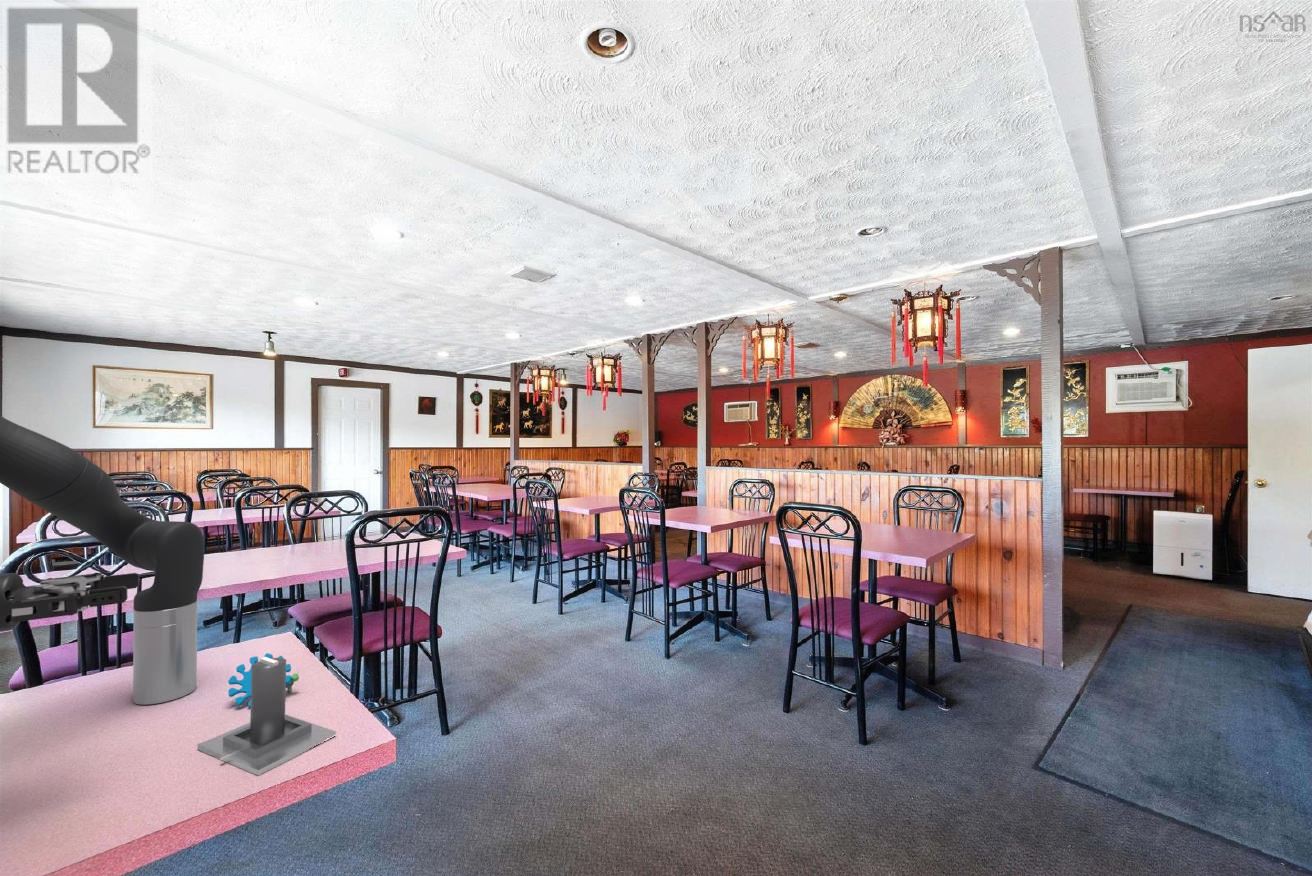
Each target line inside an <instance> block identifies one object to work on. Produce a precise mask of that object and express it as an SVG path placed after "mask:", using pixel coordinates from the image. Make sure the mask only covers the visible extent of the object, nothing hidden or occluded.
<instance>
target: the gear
mask: <svg viewBox="0 0 1312 876" xmlns="http://www.w3.org/2000/svg"><path fill="white" fill-rule="evenodd" d="M263 657H267V658H270V659H271V658H274V657H273V654H272V653H268V652H266V653H265V654H264V655H263ZM277 658H283V659H285V658H284V656H282V655H279V656H277ZM256 662H259V657H258V656H257V655H256V656H251V657H249V663H250V665H251V666H250V669H249V670H248V671H245V670H246V666H245V664H244V663H241V664H239V665H238V666H236V667H235V669H236V672H237V673H238V674H242V677H243V678H242V679H240V680H238V679H237V678H238V677H237V676H236V675H232V676H230V677H229V679H228V680H227V682H228V684H229V685H238V686H241V688H239V689H237V688H235V687H231V688H229V689H228V690H227V691H228V693H227V694H228V697H229V698H232V697H234V696H236V695H238V694H245V695H244V696H238V697H237V696H236V698H235V699H234V701H235V704H236V705H237V706H239V707H240V706H242V705H243V704H244V703H245V701H246V700H248V699H249V698H250V699H251V671H252V665H253V664H255V663H256ZM291 670H292V666H291V663H286V673H290V672H291ZM299 679H300V676H299V673H296V672H295V673H293V674H292V675H287V674H286V690H287V689H288V690H290V691H292V690H291V689H293V686H294V684H295V683H296V682H298V681H299ZM288 690H287V691H288ZM247 706H248V707H249V708H251V700H249V701H248V702H247Z"/></svg>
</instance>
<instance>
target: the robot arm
mask: <svg viewBox="0 0 1312 876" xmlns="http://www.w3.org/2000/svg"><path fill="white" fill-rule="evenodd" d="M0 484H2V485H3V487H6V488H8V489H9V490H11V491H13V492H14V493H15V494H17V495H19V496H20V497H22V498H23V499H25V500H26V501H28V502H29V503H32V504H33V505H35V506H36V507H39V508H40V509H43V510H44V511H46V512H47V513H49V514H52V515H53V516H56V517H57V518H58V519H60V520H62V521H64V522H66V523H67V524H69V525H71V526H72V527H75V528H76V529H78V530H80V531H82V532H84V533H85V534H88V535H90V536H91V537H93V538H94V539H95V540H97V541H98V542H99V543H101V544H102V545H104V546H105V547H106V548H108V549H109V550H110V551H111V552H112V553H114V554H115V555H116V556H118V557H119V558H120V559H121V560H123V561H124V562H126V563H127V564H129V565H131V566H133V567H135V568H138V569H141V570H154V579H153V583H152V585H151V586H150V587H149V588H145V589H143V590H141V591H138V592H136V594H135V595H134V596H133V637H132V638H133V640H132V641H133V642H132V643H133V645H132V646H133V647H132V648H133V651H132V653H133V659H132V664H133V665H132V667H133V669H132V672H133V673H132V676H133V677H132V702H133V703H134V704H136V705H140V706H141V705H146V706H147V705H154V704H155V705H156V704H160V703H161V704H162V703H165V702H169V701H174V700H176V699H180V698H182V697H186V696H187V695H189V694H191V693H193V692H194V691H195V690H196V689H197V687H198V685H197V681H198V679H197V678H198V676H197V675H198V672H197V671H198V593H199V590H200V588H201V586H202V582H203V577H204V575H203V574H204V562H205V538H204V533H203V532H202V530H201V528H200V527H199V526H198V525H197V524H195V523H193V522H189V521H176V520H175V521H169V520H155V519H153V518H149V516H147V515H146V516H145V515H144V514H142V513H141V512H139V511H138V510H136V509H134V508H132V507H131V506H129V505H128V504H126V503H125V501H123V499H122V497H121V496H120V493H119V490H118V488H117V485H116V483H115V482H114V480H113V478H112V477H111V476H110V475H109V474H108V473H107V472H106V471H105V470H103V468H101V467H99V466H98V465H97V464H95V463H94V462H92V461H91V460H89V459H88V458H87V457H85V456H84V455H82V453H79V452H77V451H76V450H75V449H73V448H71V447H69V446H67V445H65V444H63V443H62V442H60V441H57V440H55V439H54V438H53V439H52V438H50V437H48V436H46V435H43V434H41V433H39V432H37V431H34V430H31V429H29V428H26V427H24V426H22V425H19V424H17V423H15V422H13V421H11V420H9V419H6V418H5V417H3V416H2V415H0ZM88 583H90V584H89V585H90V586H88V587H87V584H88ZM139 585H140V573H138V572H132V573H130V572H129V573H121V574H114V575H105V574H102V572H93V573H87V574H79V575H69V576H62V577H54V578H53V577H50V578H47V579H46V578H45V579H44V580H42V581H40V582H39V584H37V585H32V586H26V585H25V584H24V580H23V578H22V576H21V575H19V574H18V573H14V572H11V573H10V572H9V573H0V632H1V633H2V632H9V631H12V630H14V629H15V628H17V627H18V625H19V624H20V623H21V622H25V621H34V620H41V619H42V620H43V619H50V618H58V617H64V616H65V617H66V616H69V617H70V616H74V615H76V614H78V612H82V611H85V610H88V609H89V608H95V607H101V606H109V605H117V604H124V603H125V602H126V601H127V600H128V590H132V589H136V588H138V587H139Z"/></svg>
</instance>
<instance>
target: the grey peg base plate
mask: <svg viewBox="0 0 1312 876" xmlns="http://www.w3.org/2000/svg"><path fill="white" fill-rule="evenodd" d="M335 734H336V735H337V731H335V730H333V729H330V728H327V727H324V726H321V725H319V724H315V723H312V722H310V721H307V720H303V719H301V718H298V717H295V716H292V715H289V714H286V713H285V733H284V734H282V735H280V736H278V737H276V738H273V739H271V740H269V741H267V742H265V743H263V744H260V745H257V744H254V743H251V742H250V722H248V723H246V724H243V725H241V726H238V727H235V728H234V729H231V730H229V731H226V732H224V733H222V734H220V735H217V736H214V737H213V738H209V739H208V740H206V741H205V740H204V741H203V742H200V743H198V744H197V748H196V750H197V751H200V752H202V753H204V754H206V755H209V756H212V757H214V758H216V759H217V760H221V761H223V762H224V763H228V764H230V765H233V766H235V767H237V768H239V769H241V770H243V771H246V772H248V773H250V774H253V775H255V776H261V775H263V774H265V773H267V772H268V771H270V770H272V769H274V768H276V767H278V766H280V765H282V764H284V763H286V762H288V761H290V760H292V759H294V758H296V757H298V756H300V755H302V754H304V753H307V752H308V751H310V750H311V749H310V748H312V749H314V748H315V747H314V746H316V745H317V744H319V743H322V742H323V741H324V740H326V739H327V738H330V737H332V736H333V735H335ZM322 744H323V743H322ZM313 747H314V748H313ZM316 747H317V746H316ZM309 749H310V750H309ZM307 750H308V751H307ZM303 752H304V753H303Z"/></svg>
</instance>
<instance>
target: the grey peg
mask: <svg viewBox="0 0 1312 876" xmlns="http://www.w3.org/2000/svg"><path fill="white" fill-rule="evenodd" d="M283 658H284V657H283ZM283 658H278V657H273V658H271V659H270V658H267V657H264V656H263V657H261V658H259V660H258V662H256V663H255V664H253V665H252V671H251V697H250V701H251V707H250V721H249V723H250V742H251V743H254V744H257V745H260V744H263V743H265V742H267V741H269V740H271V739H273V738H276V737H278V736H280V735H282V734H284V733H285V714H286V691H287V688H286V676H287V672H286V664H287V659H285V658H284V659H283Z"/></svg>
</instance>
